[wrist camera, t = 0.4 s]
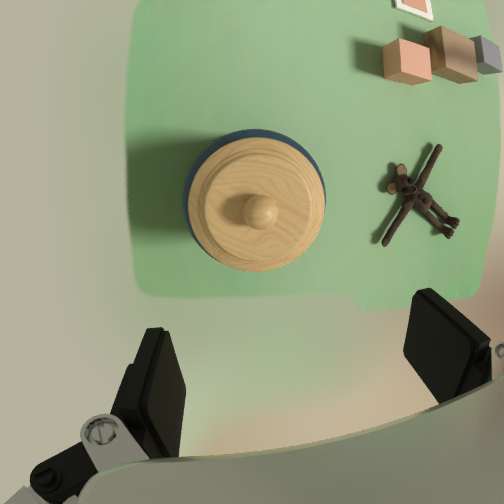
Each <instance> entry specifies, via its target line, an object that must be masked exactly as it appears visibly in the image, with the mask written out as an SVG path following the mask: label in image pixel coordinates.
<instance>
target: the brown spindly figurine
mask: <svg viewBox="0 0 504 504" xmlns="http://www.w3.org/2000/svg"><path fill="white" fill-rule="evenodd" d="M441 151H442V145H440V144H437V145H436V147H435V149H434V150H433V152H432V154H431V156H430V158H429V160H428V162H427V164H426V166H425V168H424V169H423V171H422V173H421V174H420V175H419V178H418V180H417V181H416V183H413V179H412V178H409V177H408V176H407V175H406V173H407V170H406V167H405V165H404V164H399V165H398V166H397V168H396V173H397V176H396V177H395V178H394V180H393V182H390V183H389V184H388V185H387V192H388V193H389V194H391V195H393V194H395V193H396V192H398V193H400V194H402V195H406V201H405V202H404V203H403V204H402V207H401V209H400V211H399V213H398V215H397V217H396V218H395V220H394V221H393V223H392V225H391V226H390V228H389V229H388V231H387V233H386V234H385V236H384V238H383V239H382V245H383V246H384V247H386V246H387V245H388V244H389V242H390V240H391V238H392V236H393V235H394V233H395V231H396V230H397V228H398V227H399V225H400V224H401V222H402V221H403V220H404V218H405V217H406V215H407V214H408V212H409V211H410V209H411V208H412V206H413V205H414V206H415V207H416V208H417V209H418V210H419V211H420V212H421V213H423V214H424V215H425V216H426V217H427V218H428V219H429V221H431V222H432V223H433V224H434V226H435V227H437V228H438V229H439V230H440V232H441V233H442V234H444V236H445V237H446V238H447V239H450V238H451V237H450V236H453V233H454V230H453V229H456V228H457V226H459V222H460V220H459V219H458V218H456V217H450V216H448V214H447V213H446V212H445V211H444V210H443V209H442V208H441V207H440V206H439V205H438V204H437V203H436V202H435V201H434V200H433V199H432V196H431V195H430V194H429V193H427V192H425V191H424V190H423V187H424V185H425V183H426V180H427V178H428V176H429V174H430V172H431V170H432V168H433V165H434V163H435V161H436V159H437V157H438V156H439V154H440V152H441ZM430 206H431V207H432V208H433V209H434V210H435V211H436V212H437V213H438V214H439V215H440V216H441V217H442V218H443V219H444V220H445V222H446V223H447V224H448V225H450V226H451V227H452V228H453V229H452V228H449V227H446V226H444V225H443V224H442V223H441V222H440V221H439V220H438V219H437V218H436V217H435V216H434V215H432V214H431V213H430V212H429V211H428V209H429V208H430Z"/></svg>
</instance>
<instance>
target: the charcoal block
mask: <svg viewBox="0 0 504 504" xmlns="http://www.w3.org/2000/svg"><path fill="white" fill-rule="evenodd" d="M470 40H472V41H474V46H475V54H476V62H477V71H478V72H480V73H482V74H484V75H485V74H492V73H499V72H502V64H501V57H500V50H499V47H498V46H497V45H496V44H494V43H493V42H491V41H489V40H488V39H486V38H484V37H482V36H481V35H480V36H477V37H473V38H470Z"/></svg>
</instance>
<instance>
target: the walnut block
mask: <svg viewBox="0 0 504 504" xmlns="http://www.w3.org/2000/svg"><path fill="white" fill-rule="evenodd" d="M424 39H425V47H427V48H429V51H430V62H431V74H434V75H437V76H440V77H443V78H445V79H448V80H451V81H453V82H456V83H458V84H461V83H468V82H475V81H478V71H477V62H476V54H475V46H474V41H472V40H470V39H468V38H466V37H464V36H462V35H460V34H458V33H456V32H454V31H452V30H450V29H447V28H445V27H443V26H439V27H437V28H435V29H433V30H430V31H428V32H426V33H424Z"/></svg>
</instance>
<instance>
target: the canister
mask: <svg viewBox="0 0 504 504" xmlns="http://www.w3.org/2000/svg"><path fill="white" fill-rule="evenodd" d="M325 205H326V193H325V186H324V181H323V178H322V175H321V172H320V170H319V168H318V166H317V164H316V163H315V161H314V159H313V158H312V157H311V155H310V154H309V153H308V152H307V151H306V150H305V149H304V148H303V147H302V146H301V145H299V144H298V143H297V142H295V141H294V140H292V139H291V138H289V137H287V136H285V135H282V134H280V133H277V132H273V131H269V130H263V129H247V130H241V131H236V132H233V133H230V134H227V135H225V136H223V137H221V138H219V139H217V140H216V141H214V142H213V143H211V144H210V145H209V146H208V147H206V148H205V149H204V150H203V151H202V152H201V153H200V154H199V156H198V157H197V158H196V160H195V161H194V162H193V164H192V166H191V168H190V170H189V172H188V174H187V177H186V180H185V183H184V188H183V194H182V206H183V213H184V218H185V221H186V224H187V227H188V229H189V231H190V233H191V235H192V237H193V238H194V240H195V241H196V243H197V244H198V245H199V246H200V247H201V248H202V249H203V250H204V251H205V252H206V253H207V254H208V255H210V256H211V257H212V258H214V259H215V260H217V261H219V262H221V263H223V264H225V265H227V266H229V267H232V268H235V269H238V270H243V271H251V272H260V271H268V270H273V269H276V268H279V267H282V266H284V265H286V264H288V263H290V262H292V261H293V260H295V259H296V258H298V257H299V256H300V255H301V254H302V253H304V252H305V251H306V250H307V248H308V247H309V246H310V245H311V244H312V242H313V241H314V239H315V238H316V236H317V234H318V232H319V230H320V227H321V224H322V221H323V217H324V212H325Z"/></svg>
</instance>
